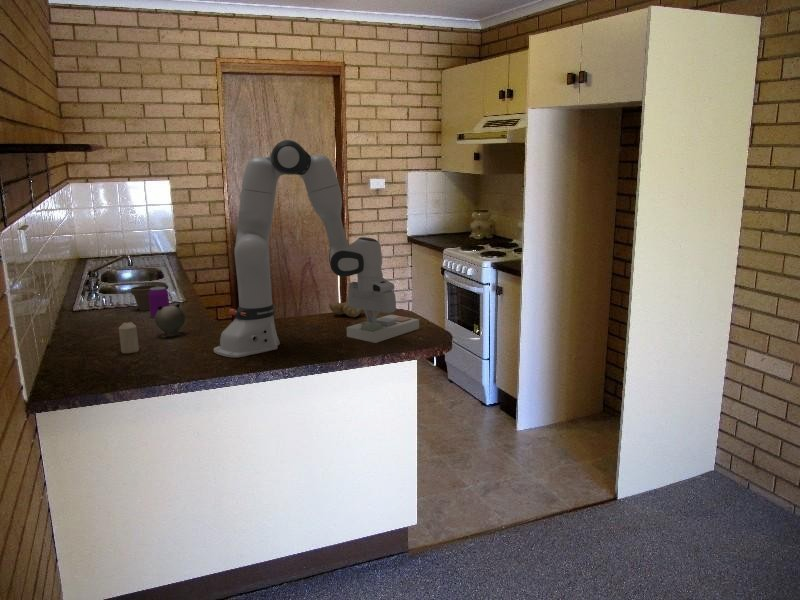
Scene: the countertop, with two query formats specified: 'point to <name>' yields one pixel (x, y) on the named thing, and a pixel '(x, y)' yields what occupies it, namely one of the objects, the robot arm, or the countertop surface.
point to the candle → (128, 338)
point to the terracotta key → (401, 319)
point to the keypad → (383, 330)
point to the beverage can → (157, 299)
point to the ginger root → (345, 309)
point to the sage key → (371, 326)
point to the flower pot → (142, 296)
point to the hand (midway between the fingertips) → (372, 322)
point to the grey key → (386, 322)
